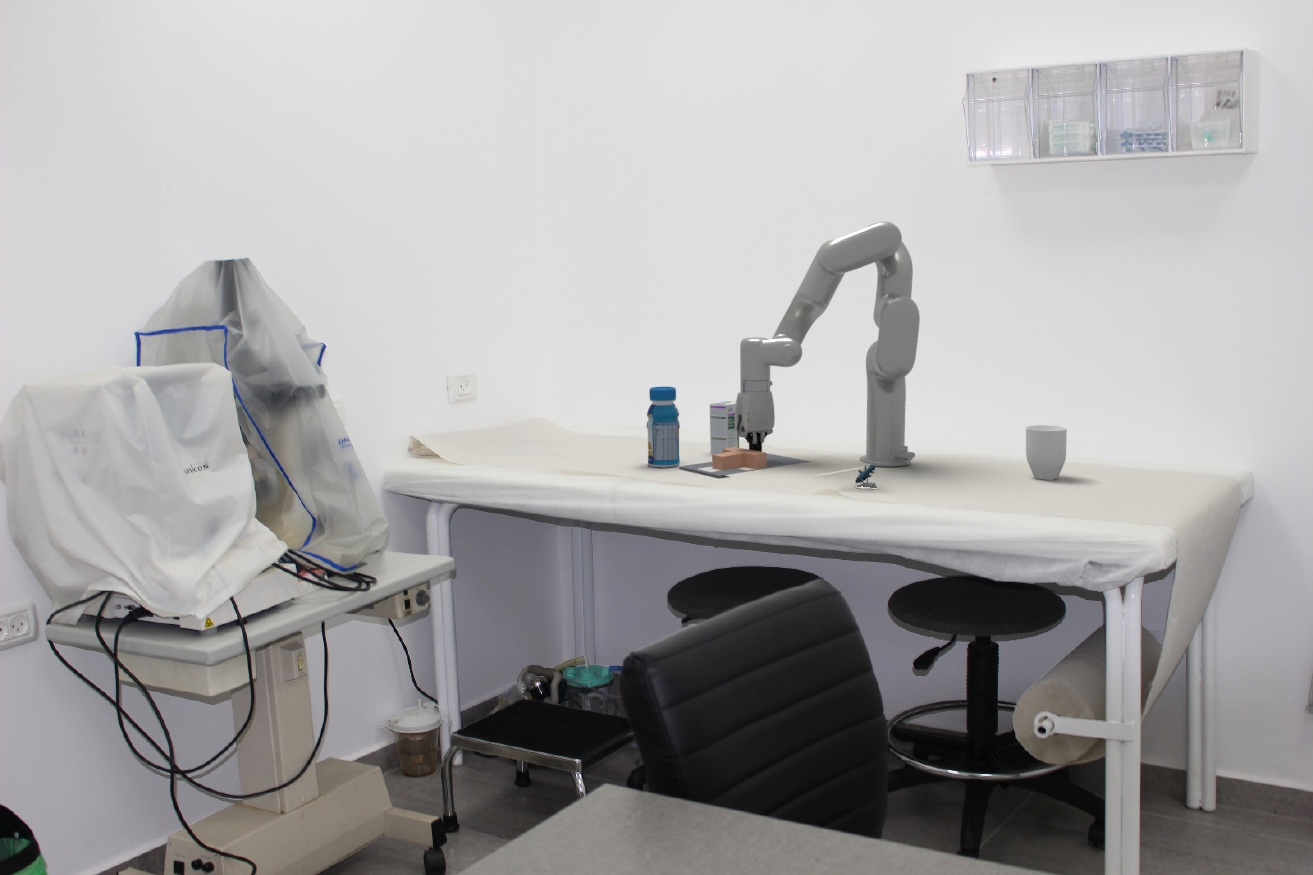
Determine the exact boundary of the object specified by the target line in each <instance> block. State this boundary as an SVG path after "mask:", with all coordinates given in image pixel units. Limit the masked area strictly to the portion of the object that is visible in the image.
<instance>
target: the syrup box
mask: <svg viewBox="0 0 1313 875" xmlns="http://www.w3.org/2000/svg"><path fill="white" fill-rule="evenodd" d="M735 406H736V401H731V400H730V401H727V400H726V401H725V400H722V401H718V402H712V403H710V404H709V433H710V434H709V435H710V437H709V438H710V455H714V454H719V453H723V449H726V448H731V447H737V448H740V437H738V431H737V430H735V426H734V420H735Z"/></svg>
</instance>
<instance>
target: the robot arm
mask: <svg viewBox="0 0 1313 875" xmlns="http://www.w3.org/2000/svg"><path fill="white" fill-rule="evenodd" d="M902 240H903V236H902V232H901V230H900V228H899V227H898V226H897V225H895V224H894V223H892V222H890V221H878V222H875V223H871V224H869V225H867V226H866V227H864V228H862V229H860V230H858V231H857V230H856V231H854V232H852V233H850V234H846V235H844V236H840V237H838V238H835V239H831V240H828V241H826V242H824V243H822V245H821V246H820V247H819V248H818V250H817V251H816V254H815V255H814V258H813V260H812V261H811V263H810V265H809V267H808V270H807V272H806V273H805V275H804V277H803V279H802V281H801V283H800V285H799V286H798V289H797V291H796V292H795V295H794V297H793V298H792V300H791V302H790V304H789V306H788V307H787V310H786V311H785V313H784V315H783V317H782V319H781V320H780V322H779V325H778V326H777V328H776V330H775V332H774V334H773V336H772V338H771V339H769V338H766V337H745V338H743V339H742V340H741V341H740V346H739V348H740V350H739V352H740V353H739V355H740V356H739V358H740V359H739V361H740V366H739V368H740V370H739V371H740V372H739V373H740V374H739V375H740V386H739V387H740V388H739V390H740V392H738V393H737V396H736V400H735V402H736V406H735V420H734V426H735V430H737V431H738V437H739V438H744V439H745V440H746V443H747V444H748V449H749V450H754V451H760V452H763V444H764V443H765V439H766V437H767V436H769V435H771V434H773V433H774V430H773V428H774V427H775V419H776V418H775V404H774V403H775V402H774V398H773V392H772V391H771V386H773V380H772V381H771V366H772V367H780V368H790V367H794V366H796V365H797V364H798V363H799V362H800V361H801V359H802V356H803V348H802V344H803V342H804V339H805V338H806V336H807V334H808V332H809V330H811V327H812V326H813V324H814V323H815V322H816V321H817V319H819V318H820V317H821V316H822V315H823V314H824V313H825V312H826V309H827V308H828V307H829V305H830V303H831V301H832V299H833V297H834V295H835V293H836V291H837V289H838V287H839V285H840V283H841V281H842V279H843V277H844V276H845V274H846V273H849V272H852V271H854V270H858V269H861V268H863V267H866V266H869V265H871V264H874V263H875V265H876V271H877V272H876V273H877V282H876V284H877V285H876V294H875V299H874V300H875V302H874V308H873V322H874V324H875V326H876V327H877V328H878V336H877V340H875V341H874V342H873V343H872V344H870V346H869V348H868V350H867V352H866V357H865V371H866V438H865V439H866V442H865V444H866V445H865V449H866V451H865V455H861V456H860V457H859V462H861V463H863V464H869V465H870V464H873V465H875V467H903V466H908V465H910V464H911V461H912V460H913V459H914V458H915V457H916V453H915V452H914V451H909V447H908V446H907V445H905V443H906V442H905V440H906V439H905V438H906V437H905V436H906V403H907V402H906V400H907V398H906V397H907V396H906V395H907V392H906V391H907V389H906V388H907V386H906V376H908V375H909V374H910V372H911V371H912V370H913V368H914V365H915V362H916V359H917V358H916V357H917V351H918V350H917V349H918V342H919V341H918V338H919V331H920V319H921V317H920V310H919V307H918V305H917V303H916V302H915V301H914V300H913V299H912V290H913V277H914V276H913V274H914V268H913V260H912V257H911V254H910V252H909V250H908V248H907V246H906V245H905V244H904V242H903V241H902Z"/></svg>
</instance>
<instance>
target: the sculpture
mask: <svg viewBox="0 0 1313 875" xmlns="http://www.w3.org/2000/svg"><path fill="white" fill-rule="evenodd" d="M863 468H864V469H863V470H861V469H858V470H857V471H858V476H856V478H855V484H856V486H857V487H861V486H863V487H870V488H877V489H878V486H877V484H876V482H874V481H873V482H872V481H871V482H870V481H869V478H871V477H872V474H874V473H875V470H876V466H875V465H873V464H869V465H868V466H867V465H864V467H863ZM864 481H865V482H864Z"/></svg>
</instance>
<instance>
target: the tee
mask: <svg viewBox="0 0 1313 875" xmlns="http://www.w3.org/2000/svg"><path fill="white" fill-rule="evenodd" d="M767 454H768V453H767V452H764V451H762V452H760V451H754V450H749V448H742V447H739V448H737V447H731V448H726V449H723V453H719V454H714V455H713V454H711V462H712V466H711V467H712V469H717V470H719V471H721V470H728V469H734V468H738V469H740V468H743V467H745V468H748V469H759V468H764V467H767Z"/></svg>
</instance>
